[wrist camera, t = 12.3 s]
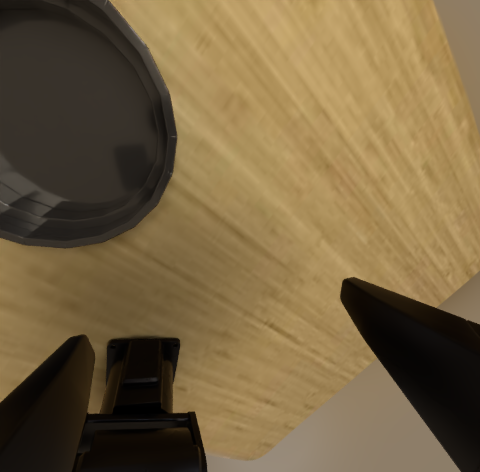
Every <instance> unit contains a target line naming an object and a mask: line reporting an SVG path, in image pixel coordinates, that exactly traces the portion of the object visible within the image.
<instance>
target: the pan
mask: <svg viewBox="0 0 480 472" xmlns="http://www.w3.org/2000/svg"><path fill="white" fill-rule="evenodd" d="M176 144H177V131H176V125H175V120H174V114H173V109H172V103H171V98H170V94H169V91H168V89H167V87H166V84H165V82H164V80H163V78H162V76H161V74H160V72H159V70H158V68H157V66H156V64H155V61H154V59H153V57H152V55H151V53H150V51H149V49H148V47H147V46H146V44H145V43H144V42H143V41H142V39H141V38H140V37H139V36H138V35H137V33H136V32H135V31H134V30H133V29H132V27H131V26H130V25H129V24H128V23H127V21H126V20H125V19H124V18H123V17H122V15H121V14H120V13H119V12H118V11H117V9H116V8H115V7H114V6H113V5H112V3H111V2H110V1H108V0H0V238H3V239H6V240H9V241H12V242H16V243H19V244H22V245H28V246H41V247H53V248H73V247H79V246H85V245H90V244H96V243H102V242H105V241H107V240H109V239H111V238H113V237H115V236H117V235H120V234H122V233H124V232H126V231H128V230H130V229H132V228H134V227H135V226H136V225H137V224H138V223H139V222H140V221H141V220H142V219H143V218H144V217H145V216H146V215H148V214H149V213H150V212H151V211H152V210H153V209H154V208H155V207H156V206H157V204H158V203H159V201H160V199H161V197H162V195H163V193H164V191H165V189H166V187H167V185H168V183H169V181H170V179H171V177H172V173H173V169H174V161H175V153H176Z"/></svg>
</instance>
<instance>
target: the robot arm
mask: <svg viewBox="0 0 480 472" xmlns="http://www.w3.org/2000/svg"><path fill="white" fill-rule="evenodd" d="M340 299H341V302H342V304H343V305H344V307H345V309H346V310H347V312H348V314H349V316H350V317H351V319H352V321H353V322H354V324H355V326H356V327H357V329H358V331H359V332H360V334H361V335H362V337H363V338H364V340H365V341H366V343H367V344H368V346H369V347H370V348H371V350H372V351H373V352H374V354H375V355H376V356H377V358H378V359H379V360H380V362H381V363H382V365H383V366H384V367H385V369H386V370H387V371H388V373H389V374H390V376H391V377H392V378H393V380H394V381H395V382H396V384H397V385H398V386H399V388H400V389H401V390H402V392H403V393H404V395H405V396H406V397H407V399H408V400H409V401H410V403H411V404H412V406H413V407H414V408H415V410H416V411H417V412H418V414H419V415H420V417H421V418H422V419H423V420H424V422H425V423H426V425H427V426H428V427H429V429H430V430H431V431H432V433H433V434H434V436H435V437H436V438H437V440H438V441H439V442H440V444H441V445H442V446H443V448H444V449H445V450H446V452H447V453H448V455H449V456H450V457H451V459H452V460H453V461H454V463H455V464H456V466H457V467H458V468H459V470H460V471H461V472H480V324H477V323H474V322H472V321H469V320H467V321H466V320H465V319H464V318H461V317H458V316H456V315H453V314H450V313H448V312H445V311H443V310H440V309H437V308H435V307H432V306H429V305H427V304H424V303H421V302H419V301H416V300H413V299H411V298H408V297H405V296H403V295H400V294H398V293H395V292H392V291H390V290H387V289H384V288H382V287H379V286H376V285H374V284H371V283H368V282H366V281H363V280H360V279H358V278H355V277H351V278H347V279H344V280H343V282H342V287H341V294H340ZM113 345H115V346H113ZM179 349H180V340H179V339H122V340H111V341H109V343H108V346H107V369H106V390H105V394H104V398H103V402H102V406H101V410H100V414H88V413H89V412H87V409H88V404H89V397H90V390H91V383H92V376H93V370H94V363H95V353H94V350H93V348H92V346H91V344H90V342H89V339H88V337H87V336H86V335H78V336H73V337H70V338H69V339H68V340H67V341H65V342H64V343H63V344H62V345H61V346H60V347H59V348H58V349H57V350H56V351H55V352H54V353H53V354H52V355H51V356H50V357H48V358H47V359H46V360H45V361H44V362H43V363H42V364H41V365H40V366H39V367H38V368H37V369H36V370H35V371H34V372H32V373H31V374H30V375H29V376H28V377H27V378H26V379H25V380H24V381H23V382H22V383H21V384H20V385H19V386H18V387H16V388H15V389H14V390H13V391H12V392H11V393H10V394H9V395H8V396H7V397H6V398H5V399H4V400H3V401H2V402H1V403H0V472H207V463H206V456H205V452H204V447H203V443H202V439H201V435H200V431H199V426H198V422H197V418H196V414H195V412H188V413H173V382H174V377H175V371H176V366H177V360H178V355H179Z"/></svg>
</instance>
